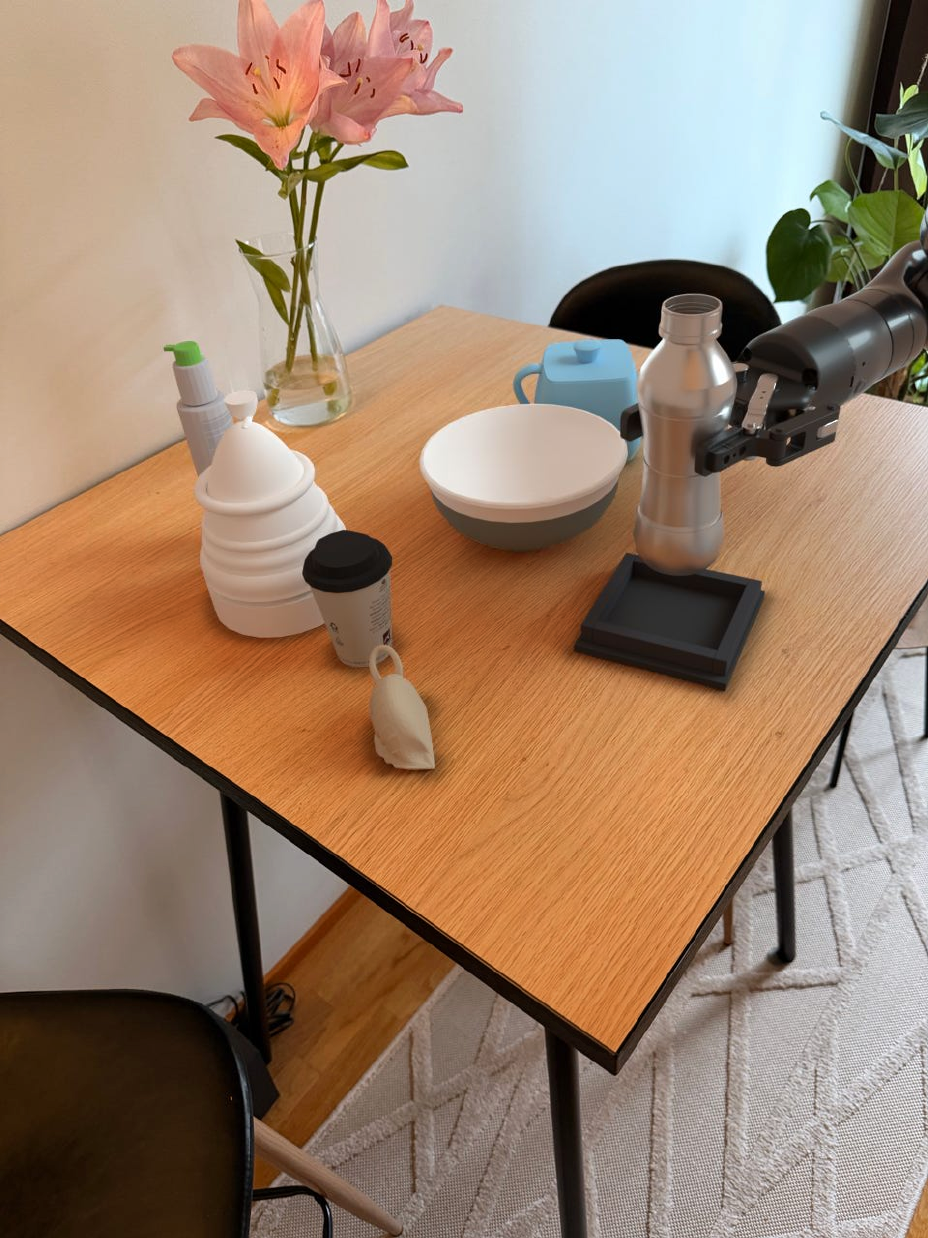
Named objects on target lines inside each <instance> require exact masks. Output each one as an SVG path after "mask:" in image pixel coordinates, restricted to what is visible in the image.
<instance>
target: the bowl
mask: <svg viewBox="0 0 928 1238" xmlns="http://www.w3.org/2000/svg"><path fill="white" fill-rule="evenodd" d="M627 456H628V450H627V443H626V442H625V440H624V439H622V438H621V437H620V431H618V430H617V429H616V428H615V427H614V426H613V425H612V424H611V423H609V422H608V421H606V420H604V419H603V418H601V417H599V416H597V415H594V414H592V413H589V412H587V411H583V410H579V409H576V408H572V407H566V406H559V405H551V404H534V403H530V404H520V403H519V404H518V403H517V404H510V405H503V406H502V405H501V406H496V407H491V408H487V409H482V410H479V411H476V412H473V413H469V414H466V415H464V416H462V417H460V418H457V419H456V420H453V421H451V422H449V423H448V424H446V425H445V426H443V427H442V428H440V429H438V430H437V431H436V432H435V433H434V434H433V435H432V436H431V437H430V438H429V439H428V440H427V441H426V443H425V445H424V446H423V448H422V450H421V452H420V457H419V460H418V463H419V470H420V474H421V476H422V477H423V478H424V480H425V482H426V483H427V484H428V487H429V488H430V492H431V497H432V500H433V504H434V506H435V508H436V509H437V511H438V513H439V514H440V515H441V516H442V517H443V519H444V520H445V521H446V522H447V523H448V525H449V526H451V527H452V528H453V529H454V530H455V531H456V532H458V533H459V534H461V535H463V536H464V537H466V538H467V539H470V540H472V541H474V542H477V543H478V544H480V545H485V546H487V547H491V548H495V549H499V550H504V551H508V552H512V553H513V552H514V553H533V552H538V551H543V550H547V549H549V548H552V547H555V546H559V545H561V544H564V543H567V542H568V541H569V542H570V541H571V540H573V539H575V538H576V537H578V536H579V535H581V534H583V533H584V532H586V531H588V530H589V529H591V528H592V527H593V526H595V524H597V523H598V522H599V521H600V520H601V519H602V518H603V515H604V514H605V513H606V511H607V510H608V508H609V507H610V505H611V504H612V502H613V501H614V499H615V498H616V494H617V492H618V488H619V482H620V481H619V480H620V474H621V472H622V470H623V468H624V467H625V466H626V463H627V461H626V459H627Z"/></svg>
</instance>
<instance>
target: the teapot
mask: <svg viewBox="0 0 928 1238" xmlns="http://www.w3.org/2000/svg"><path fill="white" fill-rule="evenodd" d="M632 354H633V353H632V352H631V349H630V347H629V345H628V344H627V343H626V342H625V341H624V340H623V339H614V338H613V339H593V338H586V339H581V340H573V341H564V342H563V341H561V342H560V341H559V342H552V343H549V345H548V346H546V347H545V350H544V352H543V356H542V360H541V363H537V362H535V363H529V364H526V365H525V366H523V367H522V368H520V369H519V370H518V371H517V372H516V374H515V375H514V377H513V381H512V389H513V392H514V395H515V397H516V399H517V402H518V403H519V404H531V402H530V401H529V399H528V398H527V396H526V393H525V392H524V390H523V386H522V381H523V380H524V379H525V378H526V377H528V376H530V375H536V374H537V375H538V376H537V381H536V385H535V389H534V390H535V391H534V398H533V404H551V405H559V406H566V407H572V408H576V409H579V410H583V411H587V412H589V413H592V414H594V415H597V416H599V417H601V418H603V419H604V420H606V421H608V422H609V423H611V424H612V425H613V426H614V427H615V428H616V429H617V430H618V431H620V418H621V413H622V411H623V410H624V409H626V408H628V407H631V406H632V405H635V404H636V403H638V398H637V386H636V382H637V378H638V375H639V374H638V371H637V368H636V364H635V361H634V358H633V355H632ZM641 441H642V436H641V437H639V438H638V439H636V440H634V441H632V442H628V441H626V440H625V442H626V443H627V450H628V456H627V459H626V462H631V461H632V460H633V459H634V458H635V456H636V455H637V453H638V451H639V448H640V445H641Z"/></svg>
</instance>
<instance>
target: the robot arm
mask: <svg viewBox="0 0 928 1238" xmlns="http://www.w3.org/2000/svg"><path fill="white" fill-rule="evenodd" d="M920 223H921V224H920V227H919V233H918V237H919V239H917V240H913V241H910V242H908V243H906V244H904V245H903V246H902V247H900V248H899V249H898V250H897V251H896V252H895V253H894V254H893V256H891V258H889V259H888V261H887V262H886V264H885V265H884V266H883V267H882V269H881V270H879V272H878V273H877V274H876V276H875V277H874V278H873V279H872V280H870V281H869V282H868V283H866V285H864V287H861V289H860V290H858V291H856V292H854V293H853V294H850V295H848V296H846V297H844V298H842V299H840V300H838V301H836V302H833V303H829V304H826V305H821V306H819V307H817V308H814V309H812V310H809V311H807V312H805V313H803V314H801V315H799V316H797V317H795V318H793V319H791V320H789V321H787V322H785V323H782V324H780V325H778V326H776V327H774V328H772V329H770V330H768V331H766V332H763V333H761V334H759V335H758V336H755V338H753V339H752V340H750V341H749V342H748V343H747V344H746V346H745V347H744V349H743V350H742V352H740V354H739V355H738V357H737V358H736V359H735V360H734V361H731V363H732V365H733V367H734V370H735V374H736V378H737V389H736V396H735V399H734V404H733V408H732V412H731V416H730V420H729V424H728V426H730V427H728V428H727V430H725V431H723V432H721V433H720V434H718V435H716V436H714V437H712V438H710V439H708V440H707V441H705V442H703V443H701V444H700V445H699V446H698V447H697V449H696V454H695V467H694V471H695V473H697V474H699V475H701V476H704V477H706V476H708V475H710V474H712V473H717V472H723V471H725V470H727V469H728V468H731V467H732V466H734V465H736V464H737V463H739V462H741V461H745V462H751V461H754V460H756V459H757V458H764V459H765V464H766V465H768V466H770V467H774V468H777V467H782V466H784V465H787V464H789V463H791V462H793V461H795V460H797V459H799V458H802V457H804V456H806V455H808V454H810V453H813V452H815V451H817V450H819V449H821V448H824V447H826V446H828V445H830V444H832V443H834V442H835V441H836V435H837V431H838V427H839V422H840V414H841V407H842V406H844V405H846V404H848V403H849V402H851V401H853V400H855V399H856V398H858V397H859V396H861V395H862V394H863V393H865V392H866V391H867V390H868V389H870V388H871V387H872V386H873V385H874V384H877V383H878V382H880V381H882V380H884V379H886V378H887V377H889V376H891V375H892V374H894V373H895V372H897V371H899V370H901V369H903V368H905V367H906V366H908V365H909V364H910V363H912V362H913V361H914V360H915V359H916V358H917V357H918V356H919V355H920V354H921V352H922V351H923V349H924V350H926V351H927V352H928V205H927V207H926V209H925V211H924V214H923V215H922V220H921V222H920ZM641 436H642V427H641V420H640V413H639V406H638V403H636V404H635V405H632V406H631V407H628V408H626V409H624V410H623V411H622V413H621V418H620V437H621V438H622V439H624V440H626V441H628V442H632V441H634V440H636V439H638V438H639V437H641ZM788 439H790V440H789V442H788Z"/></svg>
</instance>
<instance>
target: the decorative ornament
mask: <svg viewBox="0 0 928 1238" xmlns="http://www.w3.org/2000/svg"><path fill="white" fill-rule="evenodd" d="M382 651H383V652H387V653H388V654H389V655H388V656H390V658H391V659H392V662H393V664H394V673H390V674H387V675H385V676H383V677H382V676H381V675H380V673H379V671H378V668H377V667H378V666H377V664H376V658H377V655H378V654H379V653H380V652H382ZM369 672H370V675H371V677H372V680H373V681H374V683H375V685H374V686H373V688H372V691H371V695H370V697H369V704H368V705H369V707H368V709H369V719H370V720H371V722H372V726H373V730H374V732H375V734H374V739H373V741H374V744H375V752H376V754H377V755H378V757H380V758H382V759H383V760H384V762H385V763H386V764H388V765H393V767H394V768H395V769H404V770H435V769H436V765H435V763H436V762H435V753H434V744H433V738H432V732H431V725H430V719H429V713H428V708H427V706H426V704H425V703H424V701H423V699H422V697H421V696H420V694H419V692H418V691H417V689H416V687H414V685H413V684H412V683H411V682H410V681H409V680H408V679H407V678H405V677H404V665H403V662H402V660H401V657H400V656H399V654H398V652H397V651H396V650H395V649H394V648H393V647H392V648H391V647H389V646H387V645H379V646H377V647H376V648H374V649H373V651H372V653H371V655H370V659H369Z"/></svg>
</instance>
